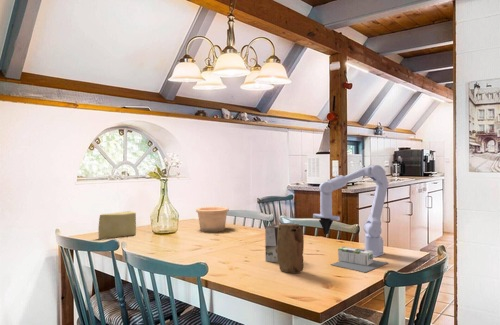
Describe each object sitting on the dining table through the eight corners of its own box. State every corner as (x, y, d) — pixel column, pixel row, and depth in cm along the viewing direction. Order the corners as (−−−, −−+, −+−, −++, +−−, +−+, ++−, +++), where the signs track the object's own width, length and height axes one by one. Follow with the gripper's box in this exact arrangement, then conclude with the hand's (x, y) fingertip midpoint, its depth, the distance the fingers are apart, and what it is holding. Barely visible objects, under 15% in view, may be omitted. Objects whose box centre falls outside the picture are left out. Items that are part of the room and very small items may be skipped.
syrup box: (343, 246, 183) (373, 250, 174) (343, 258, 183) (373, 263, 174) (337, 248, 179) (368, 252, 170) (338, 261, 179) (368, 266, 170)
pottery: (203, 234, 248) (203, 211, 248) (191, 228, 267) (191, 208, 267) (234, 230, 258) (233, 209, 258) (220, 226, 277) (220, 206, 277)
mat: (354, 256, 187) (354, 256, 187) (388, 263, 175) (388, 262, 175) (330, 265, 173) (330, 264, 173) (365, 272, 161) (365, 272, 161)
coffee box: (277, 262, 178) (277, 227, 178) (265, 261, 181) (264, 226, 181) (286, 258, 186) (285, 224, 186) (274, 256, 189) (273, 223, 189)
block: (275, 269, 166) (275, 223, 166) (287, 266, 171) (287, 221, 171) (295, 275, 158) (294, 226, 158) (306, 271, 163) (306, 224, 163)
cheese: (102, 240, 231) (101, 215, 231) (95, 238, 238) (95, 213, 238) (136, 235, 246) (136, 211, 246) (129, 233, 254) (129, 210, 253)
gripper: (309, 205, 194) (309, 233, 194) (333, 208, 183) (334, 237, 183) (317, 204, 199) (317, 231, 199) (342, 206, 188) (342, 234, 188)
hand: (326, 233), depth 191 cm, fingers closed
